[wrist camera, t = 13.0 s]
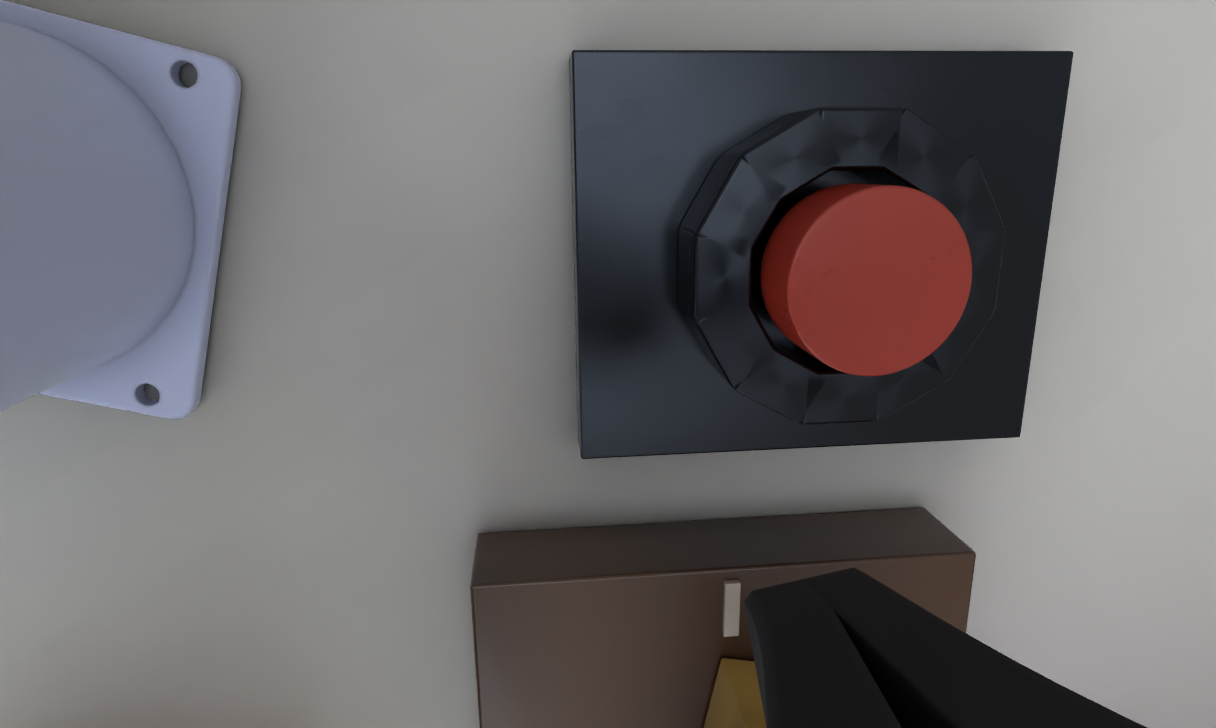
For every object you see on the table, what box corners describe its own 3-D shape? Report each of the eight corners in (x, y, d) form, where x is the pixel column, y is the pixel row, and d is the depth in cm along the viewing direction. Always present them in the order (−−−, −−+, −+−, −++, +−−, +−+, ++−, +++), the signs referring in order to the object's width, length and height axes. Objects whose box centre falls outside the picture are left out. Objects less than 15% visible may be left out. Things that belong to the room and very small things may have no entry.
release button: (755, 358, 16) (783, 380, 14) (763, 184, 15) (792, 187, 13) (917, 352, 16) (962, 373, 15) (934, 181, 15) (984, 183, 14)
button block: (578, 441, 19) (586, 491, 16) (568, 57, 16) (577, 35, 14) (992, 421, 20) (1070, 465, 17) (1038, 58, 17) (1139, 37, 15)
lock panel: (496, 844, 22) (492, 935, 19) (477, 532, 19) (469, 589, 17) (892, 806, 23) (938, 886, 20) (924, 506, 20) (981, 555, 18)
